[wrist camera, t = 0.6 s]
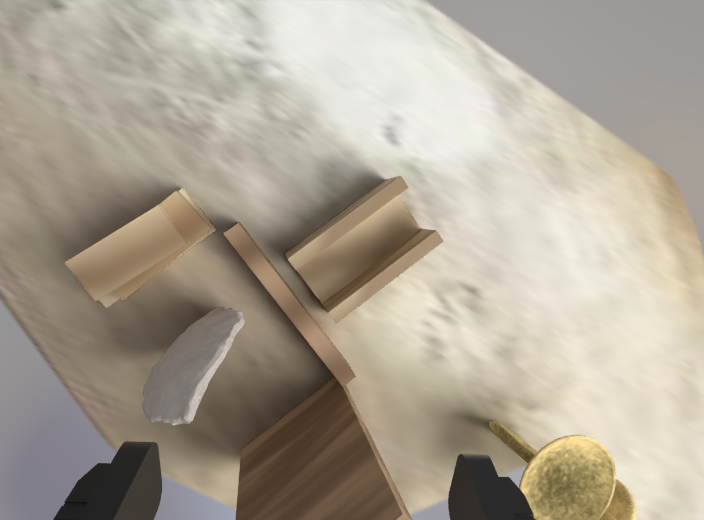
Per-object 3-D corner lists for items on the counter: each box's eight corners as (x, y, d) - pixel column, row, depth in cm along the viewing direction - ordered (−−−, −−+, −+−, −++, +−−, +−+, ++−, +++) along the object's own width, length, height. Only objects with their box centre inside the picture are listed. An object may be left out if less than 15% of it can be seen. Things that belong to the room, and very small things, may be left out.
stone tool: (229, 284, 39) (211, 327, 24) (254, 308, 40) (251, 364, 25) (154, 356, 38) (89, 445, 24) (181, 379, 39) (134, 479, 25)
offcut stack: (76, 264, 36) (51, 271, 32) (185, 189, 37) (175, 186, 33) (114, 307, 37) (95, 319, 33) (219, 232, 38) (214, 235, 34)
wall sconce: (579, 435, 49) (890, 654, 25) (529, 502, 49) (797, 791, 24) (497, 369, 46) (764, 546, 22) (443, 439, 45) (653, 701, 21)
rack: (117, 309, 37) (-39, 416, 18) (239, 222, 39) (218, 233, 19) (251, 460, 41) (243, 682, 22) (358, 376, 43) (440, 515, 23)
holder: (284, 253, 40) (287, 259, 35) (385, 179, 41) (400, 175, 37) (327, 311, 41) (335, 323, 37) (424, 238, 42) (443, 241, 38)
